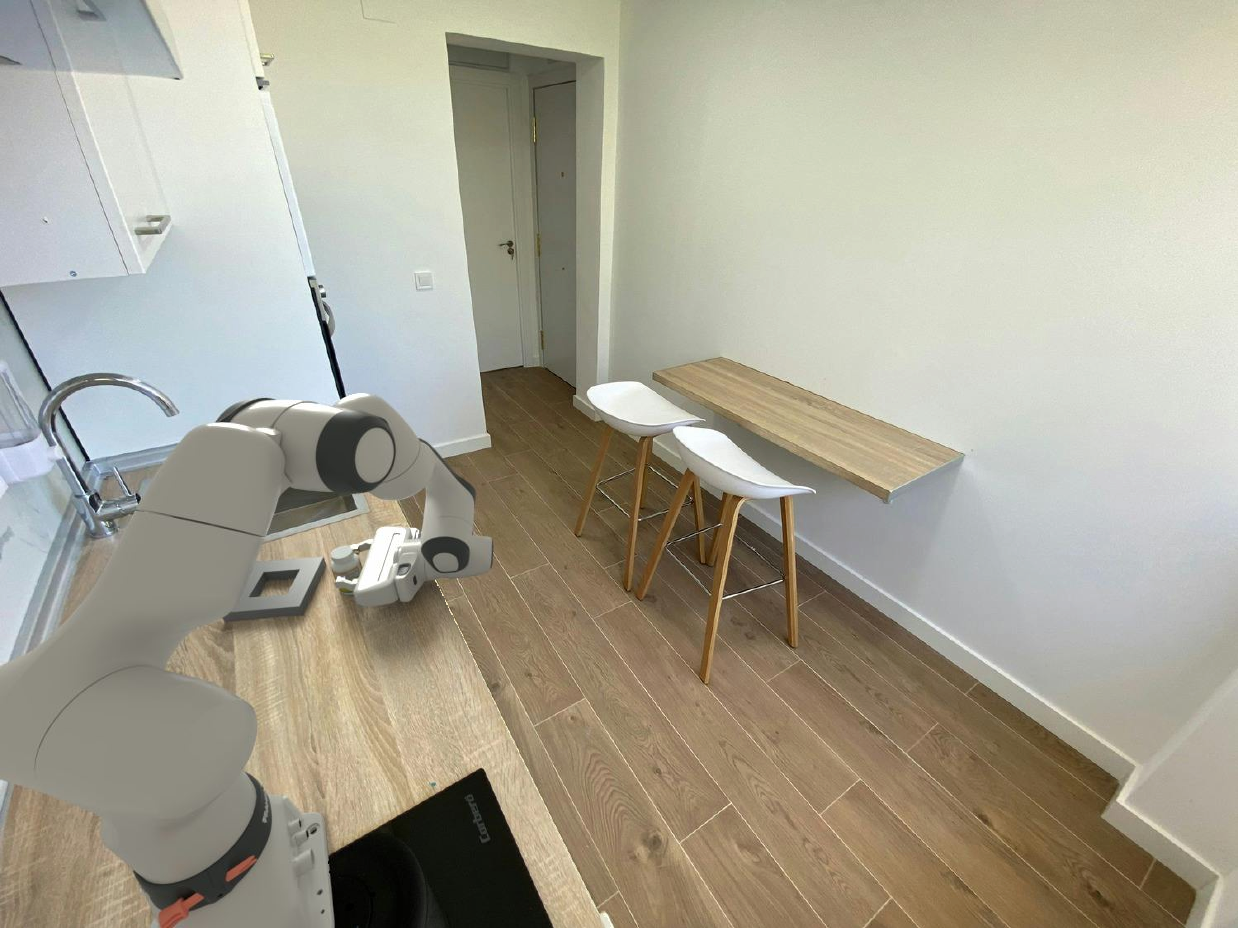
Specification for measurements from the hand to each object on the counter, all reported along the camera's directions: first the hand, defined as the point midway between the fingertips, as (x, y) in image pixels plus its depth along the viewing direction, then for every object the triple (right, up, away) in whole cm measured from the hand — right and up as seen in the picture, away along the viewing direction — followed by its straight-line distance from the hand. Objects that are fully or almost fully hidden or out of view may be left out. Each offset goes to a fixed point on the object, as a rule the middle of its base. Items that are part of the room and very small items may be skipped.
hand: (343, 565), depth 102 cm
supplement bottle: (0, -5, +3) cm, 6 cm away
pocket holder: (-14, -6, +1) cm, 15 cm away
